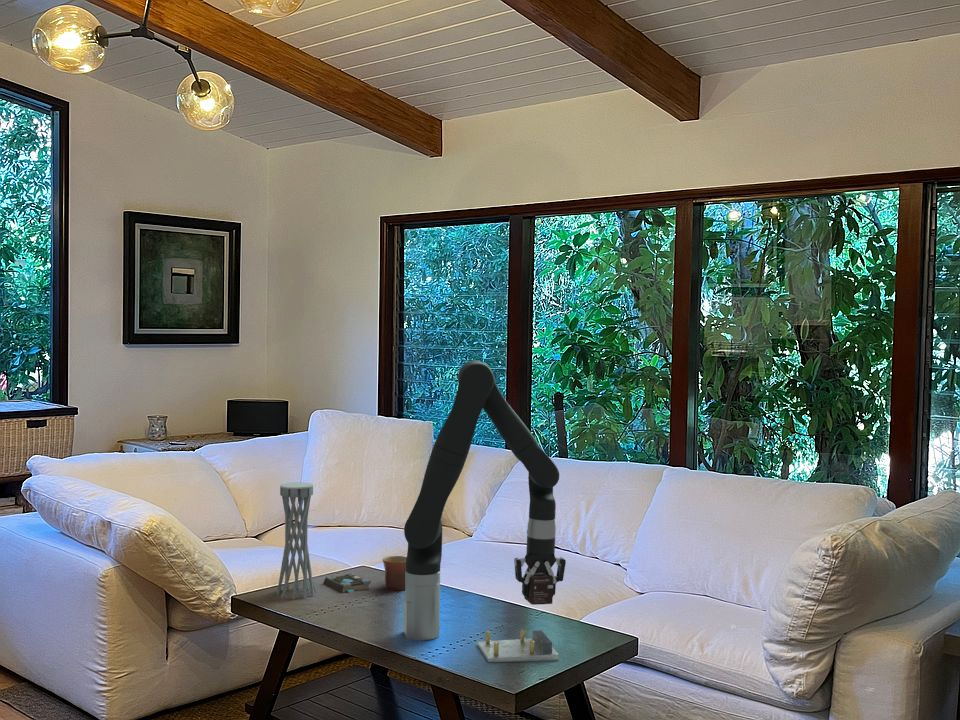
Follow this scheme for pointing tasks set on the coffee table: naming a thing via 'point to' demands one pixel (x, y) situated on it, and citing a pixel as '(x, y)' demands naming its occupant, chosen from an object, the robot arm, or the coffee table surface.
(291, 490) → the grey lattice tower
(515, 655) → the chassis
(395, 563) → the mug
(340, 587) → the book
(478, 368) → the robot arm
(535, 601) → the box
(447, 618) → the coffee table surface
